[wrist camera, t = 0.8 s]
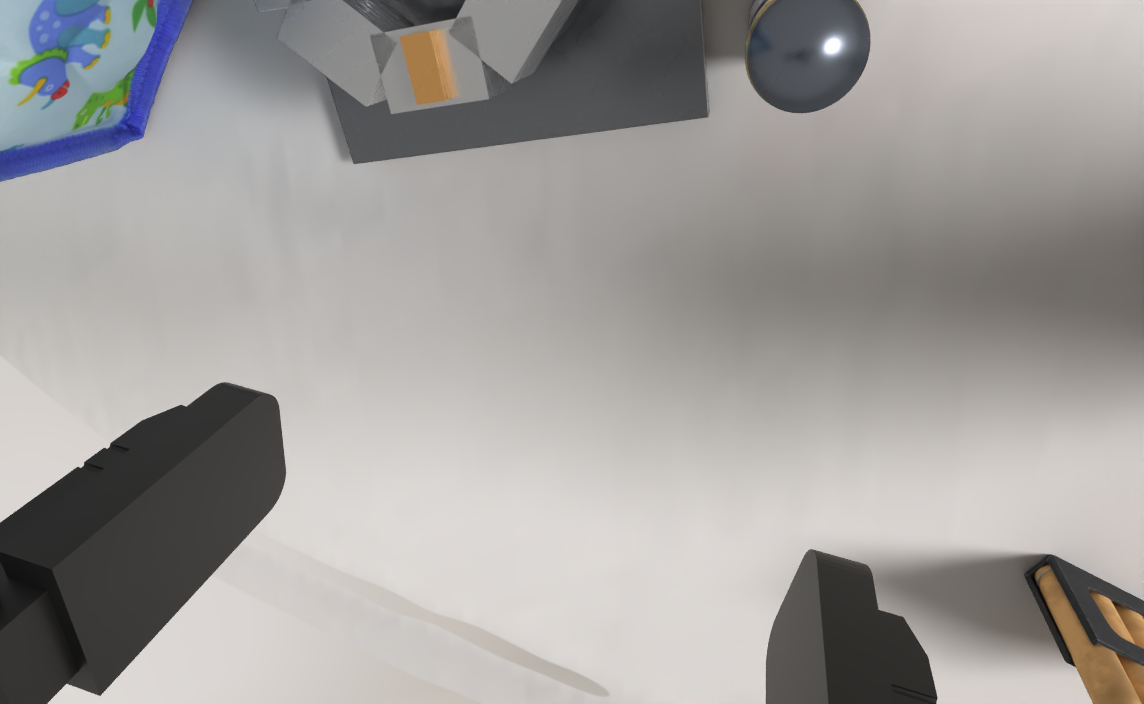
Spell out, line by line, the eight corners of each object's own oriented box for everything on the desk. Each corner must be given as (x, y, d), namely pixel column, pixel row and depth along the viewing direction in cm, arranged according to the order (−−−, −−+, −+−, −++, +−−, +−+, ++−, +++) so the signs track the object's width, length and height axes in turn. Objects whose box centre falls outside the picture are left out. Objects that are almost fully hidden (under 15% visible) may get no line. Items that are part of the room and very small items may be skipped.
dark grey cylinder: (823, -31, 24) (875, -29, 14) (823, 51, 26) (870, 106, 15) (746, -16, 25) (741, -4, 15) (749, 62, 26) (747, 122, 16)
